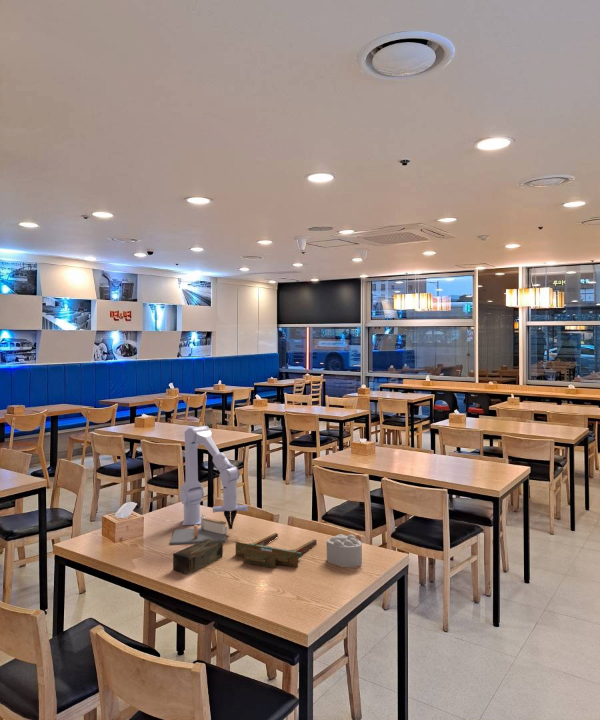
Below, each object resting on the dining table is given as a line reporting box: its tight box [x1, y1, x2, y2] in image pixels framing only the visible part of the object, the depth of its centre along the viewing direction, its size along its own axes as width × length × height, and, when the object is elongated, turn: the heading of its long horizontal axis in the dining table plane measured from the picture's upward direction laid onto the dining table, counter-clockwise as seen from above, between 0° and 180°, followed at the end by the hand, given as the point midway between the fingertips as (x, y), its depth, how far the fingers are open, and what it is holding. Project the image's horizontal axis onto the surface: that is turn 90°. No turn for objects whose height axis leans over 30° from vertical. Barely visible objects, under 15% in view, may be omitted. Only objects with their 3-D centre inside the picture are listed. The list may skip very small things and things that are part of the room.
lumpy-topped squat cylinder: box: [326, 533, 363, 568], centre depth 197 cm, size 10×13×9 cm
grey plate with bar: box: [169, 514, 228, 546], centre depth 225 cm, size 16×22×7 cm
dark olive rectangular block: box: [172, 538, 224, 575], centre depth 197 cm, size 8×19×7 cm, turn 149°
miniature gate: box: [234, 532, 317, 569], centre depth 205 cm, size 27×6×30 cm
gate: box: [200, 516, 227, 534], centre depth 228 cm, size 13×2×5 cm, turn 55°
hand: (230, 528), depth 228 cm, fingers closed
